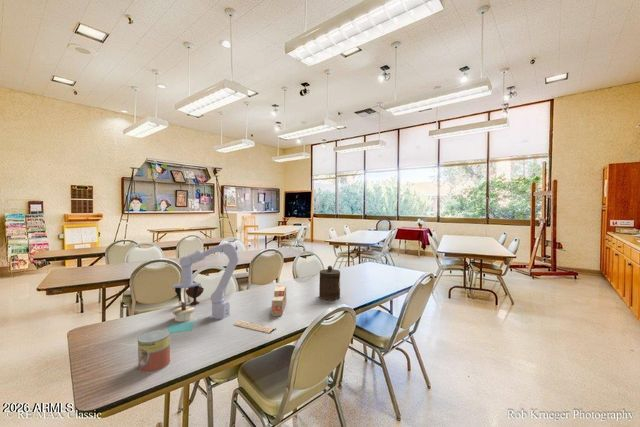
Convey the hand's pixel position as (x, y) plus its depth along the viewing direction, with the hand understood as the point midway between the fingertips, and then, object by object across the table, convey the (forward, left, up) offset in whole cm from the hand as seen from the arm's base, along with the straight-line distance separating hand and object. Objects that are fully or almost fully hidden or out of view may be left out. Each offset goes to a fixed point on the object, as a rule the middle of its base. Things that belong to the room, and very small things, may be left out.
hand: (187, 300), depth 164 cm
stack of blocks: (-47, -25, -11) cm, 54 cm away
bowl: (+1, +2, -10) cm, 11 cm away
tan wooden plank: (-44, +2, -11) cm, 45 cm away
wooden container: (-72, -57, -11) cm, 92 cm away
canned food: (-20, +45, -11) cm, 51 cm away
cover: (+1, +3, -6) cm, 6 cm away
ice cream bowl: (+12, -22, -11) cm, 27 cm away
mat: (-6, +13, -10) cm, 18 cm away
